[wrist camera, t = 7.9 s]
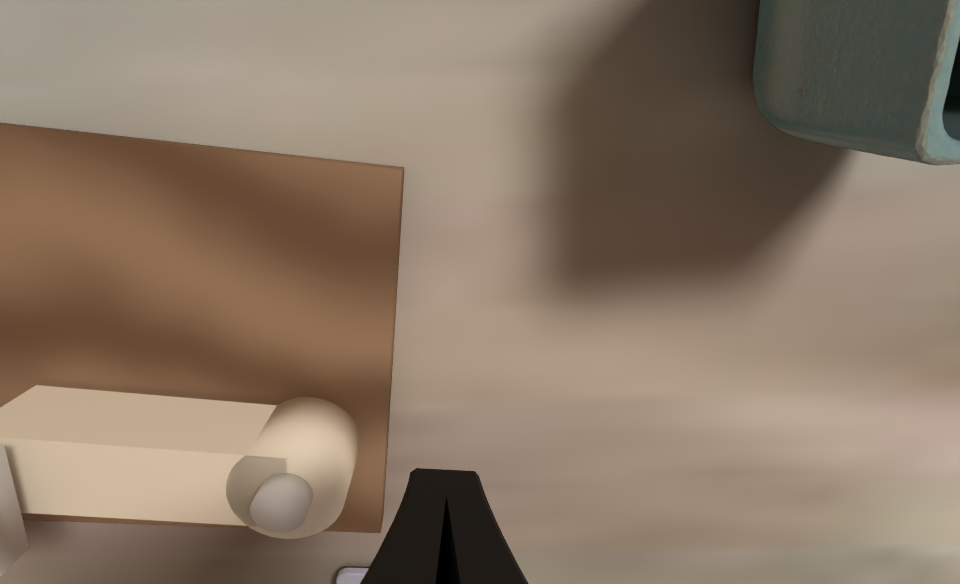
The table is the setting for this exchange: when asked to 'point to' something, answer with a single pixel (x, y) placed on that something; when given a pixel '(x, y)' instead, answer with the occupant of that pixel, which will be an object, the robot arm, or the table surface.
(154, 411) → the link
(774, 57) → the flower pot
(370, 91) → the table surface
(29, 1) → the table surface
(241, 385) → the hinge board
